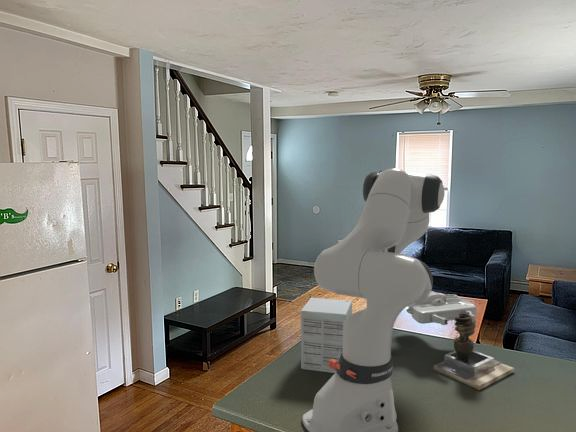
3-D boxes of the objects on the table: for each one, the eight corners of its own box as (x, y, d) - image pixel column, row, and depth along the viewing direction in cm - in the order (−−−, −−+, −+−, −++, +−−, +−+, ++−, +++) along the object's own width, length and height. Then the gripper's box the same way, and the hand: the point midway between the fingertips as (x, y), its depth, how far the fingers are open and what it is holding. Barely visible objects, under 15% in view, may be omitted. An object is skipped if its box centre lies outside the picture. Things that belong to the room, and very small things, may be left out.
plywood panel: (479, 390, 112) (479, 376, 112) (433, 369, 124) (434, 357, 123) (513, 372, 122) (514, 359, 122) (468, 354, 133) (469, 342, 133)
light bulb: (457, 358, 128) (459, 308, 126) (476, 363, 124) (478, 312, 123) (450, 364, 124) (452, 314, 122) (470, 370, 120) (472, 318, 118)
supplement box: (310, 350, 137) (310, 296, 135) (352, 355, 134) (352, 300, 132) (300, 369, 125) (299, 310, 123) (345, 375, 121) (346, 314, 119)
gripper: (403, 299, 138) (428, 313, 125) (459, 294, 143) (489, 307, 130) (403, 318, 139) (428, 335, 125) (459, 312, 144) (488, 327, 130)
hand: (459, 320), depth 128 cm, fingers open, 8 cm apart
